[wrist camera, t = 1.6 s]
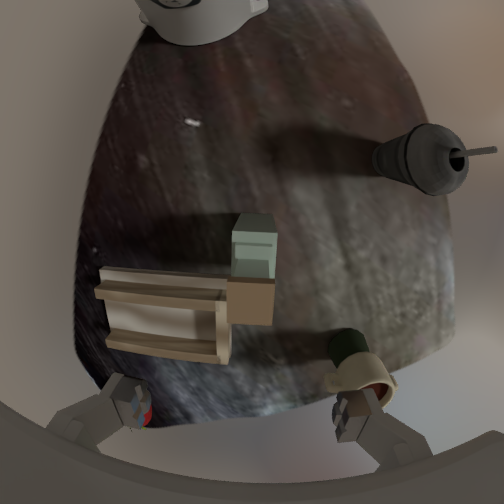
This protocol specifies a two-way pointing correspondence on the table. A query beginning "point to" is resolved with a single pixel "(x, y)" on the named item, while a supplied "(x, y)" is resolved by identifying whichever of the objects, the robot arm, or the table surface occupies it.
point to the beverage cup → (426, 159)
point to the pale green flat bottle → (252, 270)
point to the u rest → (167, 313)
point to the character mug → (358, 368)
